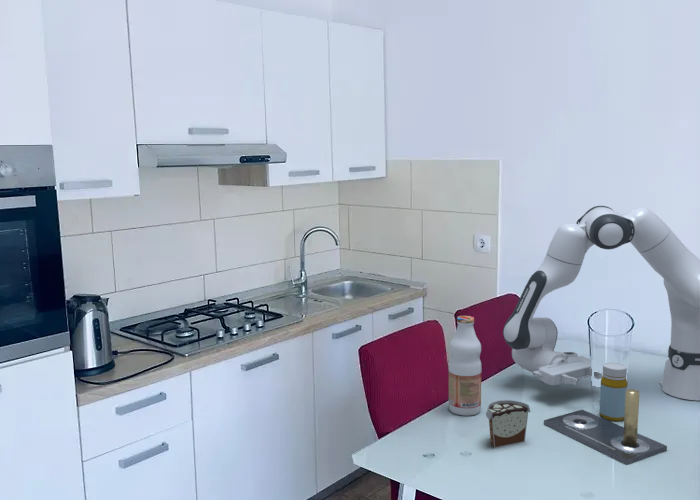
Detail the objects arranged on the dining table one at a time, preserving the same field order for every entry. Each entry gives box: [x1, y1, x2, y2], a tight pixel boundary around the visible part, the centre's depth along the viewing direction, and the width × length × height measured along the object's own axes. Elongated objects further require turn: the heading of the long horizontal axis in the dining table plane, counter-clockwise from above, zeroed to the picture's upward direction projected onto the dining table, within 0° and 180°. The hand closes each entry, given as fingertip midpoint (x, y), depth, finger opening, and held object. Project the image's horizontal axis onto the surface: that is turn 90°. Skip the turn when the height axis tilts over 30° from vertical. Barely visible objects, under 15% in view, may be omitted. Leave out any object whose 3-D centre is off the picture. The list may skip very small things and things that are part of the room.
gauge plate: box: [543, 388, 668, 465], centre depth 169 cm, size 15×27×15 cm, turn 28°
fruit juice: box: [448, 315, 482, 417], centre depth 187 cm, size 9×9×28 cm
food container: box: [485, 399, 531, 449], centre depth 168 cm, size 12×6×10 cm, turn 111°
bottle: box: [598, 362, 629, 422], centre depth 181 cm, size 7×7×15 cm
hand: (589, 379), depth 189 cm, fingers open, 8 cm apart
